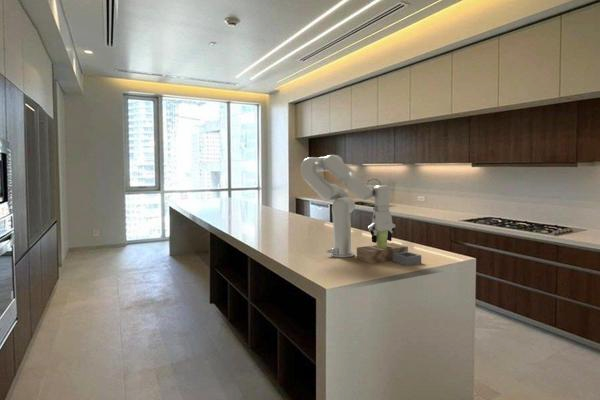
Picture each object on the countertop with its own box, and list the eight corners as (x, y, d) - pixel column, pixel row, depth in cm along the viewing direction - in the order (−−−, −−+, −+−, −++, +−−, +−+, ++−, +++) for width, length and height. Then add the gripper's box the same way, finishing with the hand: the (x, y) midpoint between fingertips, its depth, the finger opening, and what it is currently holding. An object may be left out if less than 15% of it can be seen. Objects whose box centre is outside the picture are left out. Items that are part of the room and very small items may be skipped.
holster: (406, 265, 182) (406, 257, 182) (392, 261, 191) (392, 253, 191) (421, 263, 186) (421, 255, 186) (406, 259, 195) (406, 251, 195)
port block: (370, 263, 188) (370, 251, 187) (356, 258, 198) (356, 247, 198) (407, 257, 198) (407, 246, 197) (392, 253, 209) (392, 242, 208)
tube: (380, 256, 202) (380, 220, 201) (388, 257, 199) (389, 221, 197) (374, 258, 198) (374, 221, 196) (383, 259, 195) (383, 222, 193)
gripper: (372, 210, 189) (372, 244, 190) (399, 208, 197) (399, 241, 198) (363, 209, 196) (363, 241, 197) (390, 207, 203) (390, 238, 205)
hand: (381, 241), depth 198 cm, fingers open, 9 cm apart
